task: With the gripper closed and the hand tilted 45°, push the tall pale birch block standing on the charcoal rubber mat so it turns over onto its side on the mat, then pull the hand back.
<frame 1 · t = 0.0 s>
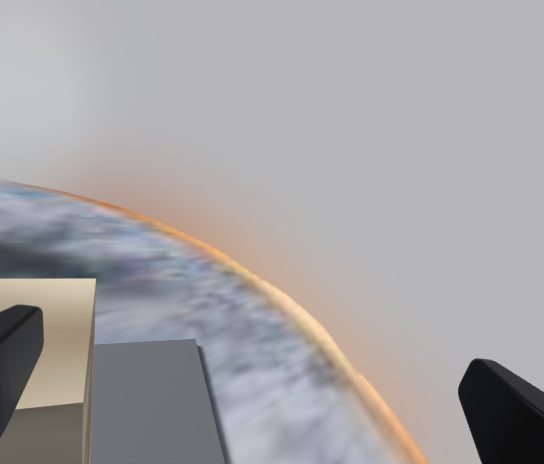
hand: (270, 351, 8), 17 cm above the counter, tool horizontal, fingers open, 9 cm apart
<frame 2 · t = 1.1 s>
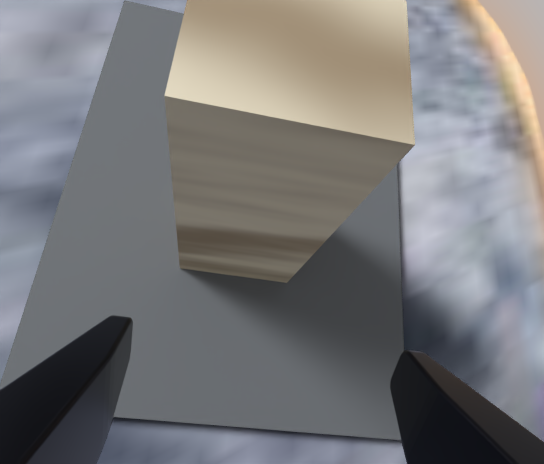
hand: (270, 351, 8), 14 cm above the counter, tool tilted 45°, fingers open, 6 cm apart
birch block: (239, 234, 23), point 1 cm above the counter, touching rubber mat
rubber mat: (244, 193, 25), on the counter
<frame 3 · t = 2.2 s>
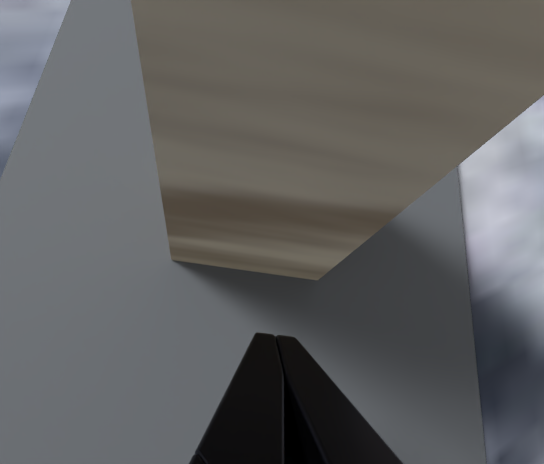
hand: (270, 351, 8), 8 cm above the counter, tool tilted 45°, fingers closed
birch block: (253, 214, 17), point 1 cm above the counter, touching rubber mat
rubber mat: (258, 161, 19), on the counter
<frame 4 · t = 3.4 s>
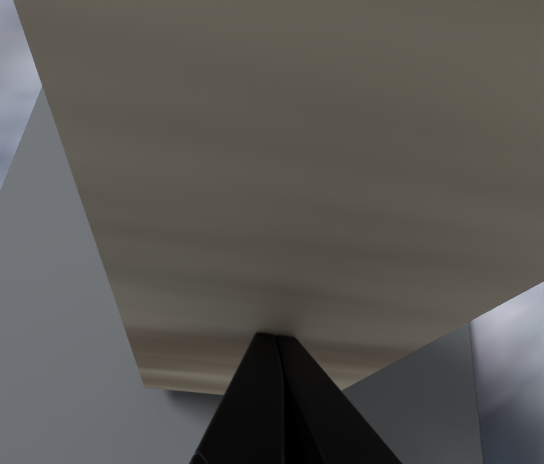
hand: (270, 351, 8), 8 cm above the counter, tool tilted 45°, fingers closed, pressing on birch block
birch block: (240, 325, 15), point 1 cm above the counter, tilted 10°, touching gripper, rubber mat
rubber mat: (245, 260, 17), on the counter
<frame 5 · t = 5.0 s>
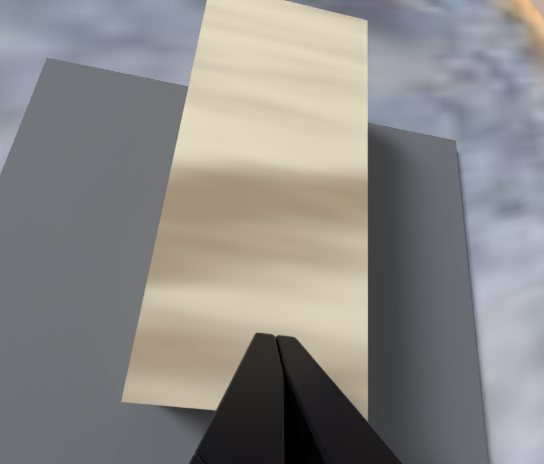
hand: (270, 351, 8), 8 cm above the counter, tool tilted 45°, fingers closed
birch block: (238, 407, 12), point 3 cm above the counter, tilted 90°, touching rubber mat
rubber mat: (230, 391, 15), on the counter
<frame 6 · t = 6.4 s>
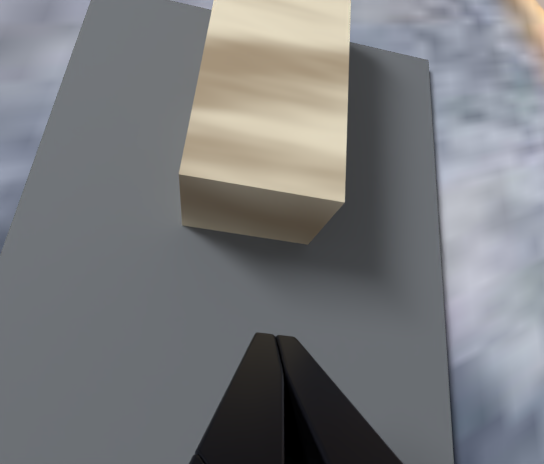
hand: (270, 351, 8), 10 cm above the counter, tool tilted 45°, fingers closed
birch block: (254, 215, 16), point 3 cm above the counter, tilted 90°, touching rubber mat
rubber mat: (245, 231, 19), on the counter
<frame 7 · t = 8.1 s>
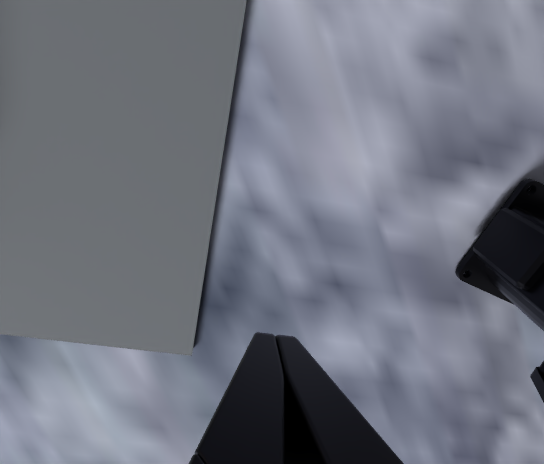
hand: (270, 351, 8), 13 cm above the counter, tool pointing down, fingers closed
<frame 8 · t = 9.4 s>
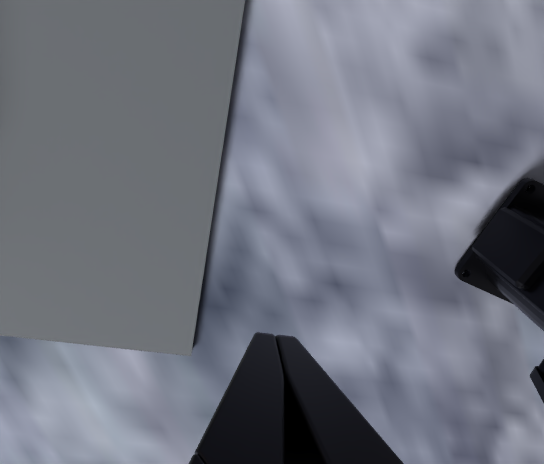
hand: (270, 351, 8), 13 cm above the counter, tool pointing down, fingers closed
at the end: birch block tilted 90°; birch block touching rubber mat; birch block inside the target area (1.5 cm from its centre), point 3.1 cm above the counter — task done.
